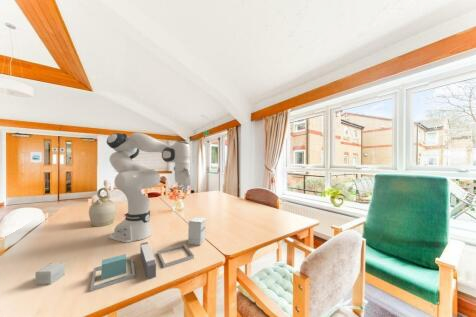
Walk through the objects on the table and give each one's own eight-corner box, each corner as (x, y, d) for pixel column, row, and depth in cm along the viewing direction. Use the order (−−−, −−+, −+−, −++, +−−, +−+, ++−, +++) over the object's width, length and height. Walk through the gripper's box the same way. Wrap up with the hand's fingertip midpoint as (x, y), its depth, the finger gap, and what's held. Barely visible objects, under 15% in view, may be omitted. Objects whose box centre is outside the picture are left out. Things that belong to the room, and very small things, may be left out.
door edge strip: (156, 276, 70) (156, 262, 70) (147, 279, 68) (147, 265, 68) (147, 251, 88) (147, 241, 88) (140, 253, 86) (140, 242, 86)
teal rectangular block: (101, 280, 67) (101, 264, 67) (101, 274, 71) (102, 259, 71) (126, 273, 72) (126, 258, 72) (125, 268, 75) (125, 253, 75)
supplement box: (200, 245, 95) (200, 222, 95) (187, 244, 97) (188, 221, 97) (205, 239, 102) (206, 217, 102) (193, 238, 104) (194, 216, 104)
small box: (50, 275, 70) (50, 262, 70) (65, 274, 70) (65, 262, 70) (34, 285, 64) (34, 271, 64) (50, 285, 65) (51, 271, 65)
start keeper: (194, 258, 83) (194, 255, 83) (163, 267, 76) (163, 265, 76) (184, 246, 94) (184, 243, 94) (157, 253, 87) (157, 251, 87)
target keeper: (135, 277, 70) (135, 273, 70) (90, 291, 62) (90, 288, 62) (132, 260, 81) (132, 257, 81) (93, 270, 73) (93, 267, 73)
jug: (102, 219, 133) (103, 185, 133) (121, 220, 131) (121, 186, 131) (82, 226, 118) (82, 189, 118) (102, 228, 116) (103, 190, 116)
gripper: (193, 168, 100) (193, 193, 100) (182, 167, 117) (182, 188, 117) (182, 169, 96) (182, 194, 96) (173, 167, 113) (172, 189, 113)
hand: (182, 191), depth 106 cm, fingers open, 8 cm apart
